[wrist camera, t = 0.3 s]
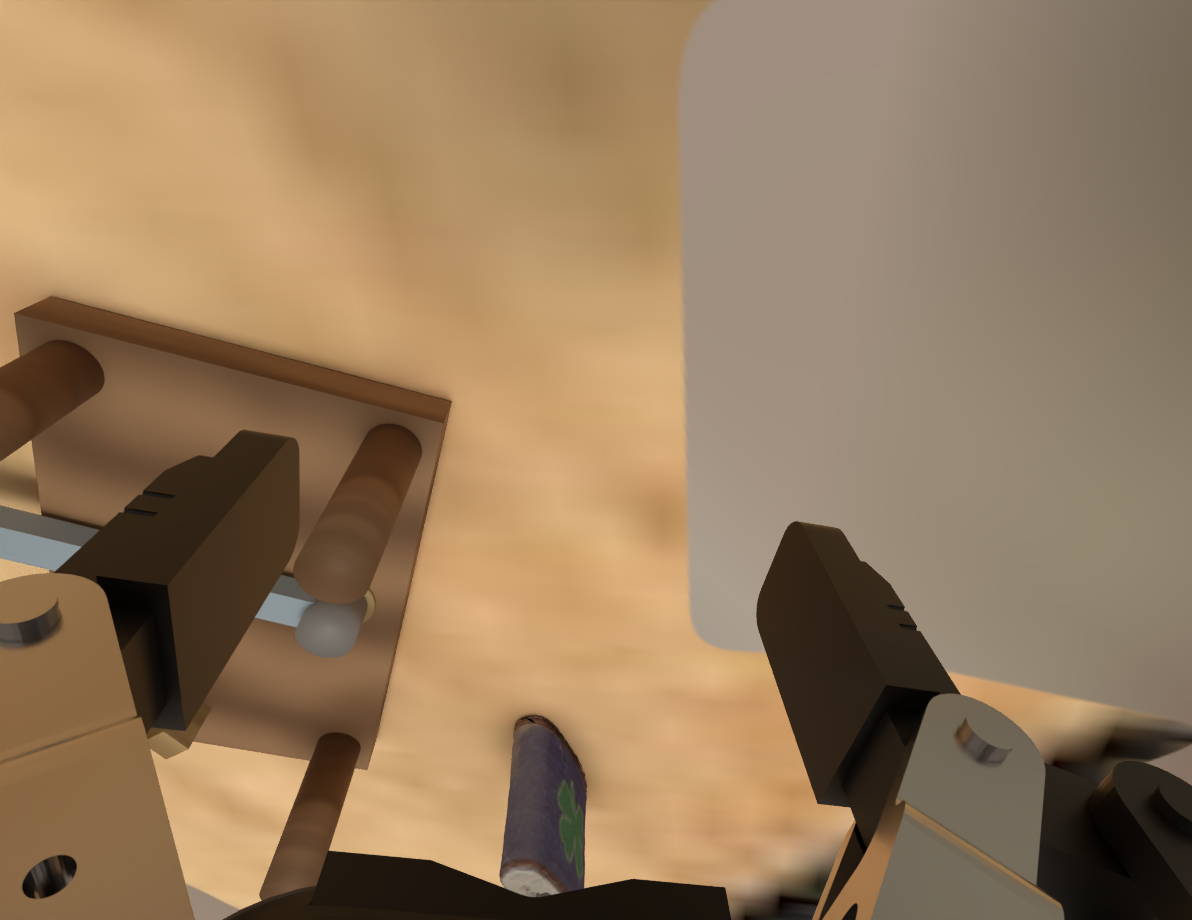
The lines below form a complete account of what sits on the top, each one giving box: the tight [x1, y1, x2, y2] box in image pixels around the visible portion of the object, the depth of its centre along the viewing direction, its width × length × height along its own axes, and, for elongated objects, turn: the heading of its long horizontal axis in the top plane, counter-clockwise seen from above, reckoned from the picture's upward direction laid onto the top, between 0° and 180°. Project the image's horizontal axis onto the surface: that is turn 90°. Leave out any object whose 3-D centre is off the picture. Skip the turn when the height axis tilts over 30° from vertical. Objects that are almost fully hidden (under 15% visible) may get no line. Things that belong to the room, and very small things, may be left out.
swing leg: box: [0, 505, 368, 658], centre depth 27 cm, size 18×3×8 cm, turn 70°
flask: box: [500, 716, 587, 897], centre depth 38 cm, size 9×3×11 cm, turn 16°
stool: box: [0, 297, 451, 900], centre depth 29 cm, size 24×16×10 cm, turn 163°
